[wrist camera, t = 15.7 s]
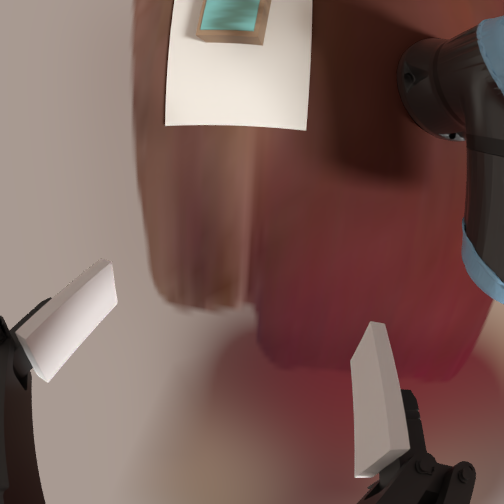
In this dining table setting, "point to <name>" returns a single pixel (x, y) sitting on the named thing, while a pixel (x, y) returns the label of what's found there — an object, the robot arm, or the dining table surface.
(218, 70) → the cream white flat board
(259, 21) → the walnut plaque
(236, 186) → the dining table surface
